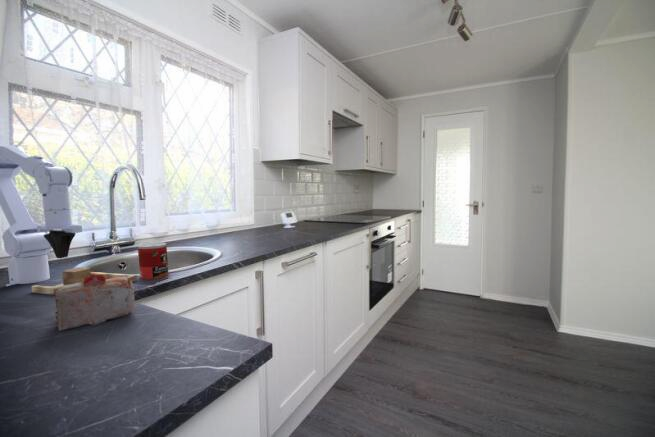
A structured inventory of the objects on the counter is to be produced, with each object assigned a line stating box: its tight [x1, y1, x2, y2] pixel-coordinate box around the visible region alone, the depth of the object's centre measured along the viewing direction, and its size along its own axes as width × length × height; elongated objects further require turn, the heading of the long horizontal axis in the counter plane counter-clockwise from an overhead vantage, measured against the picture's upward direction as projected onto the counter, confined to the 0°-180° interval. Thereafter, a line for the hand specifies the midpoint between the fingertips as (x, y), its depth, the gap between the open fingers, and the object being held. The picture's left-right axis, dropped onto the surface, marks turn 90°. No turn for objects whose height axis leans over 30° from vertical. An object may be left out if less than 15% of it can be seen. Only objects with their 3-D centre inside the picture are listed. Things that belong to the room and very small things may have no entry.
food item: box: [53, 275, 136, 332], centre depth 68 cm, size 14×8×10 cm, turn 131°
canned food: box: [137, 241, 169, 283], centre depth 98 cm, size 8×8×11 cm
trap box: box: [31, 271, 138, 296], centre depth 89 cm, size 19×15×3 cm
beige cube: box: [61, 266, 92, 285], centre depth 90 cm, size 4×4×4 cm
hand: (62, 257), depth 91 cm, fingers closed
